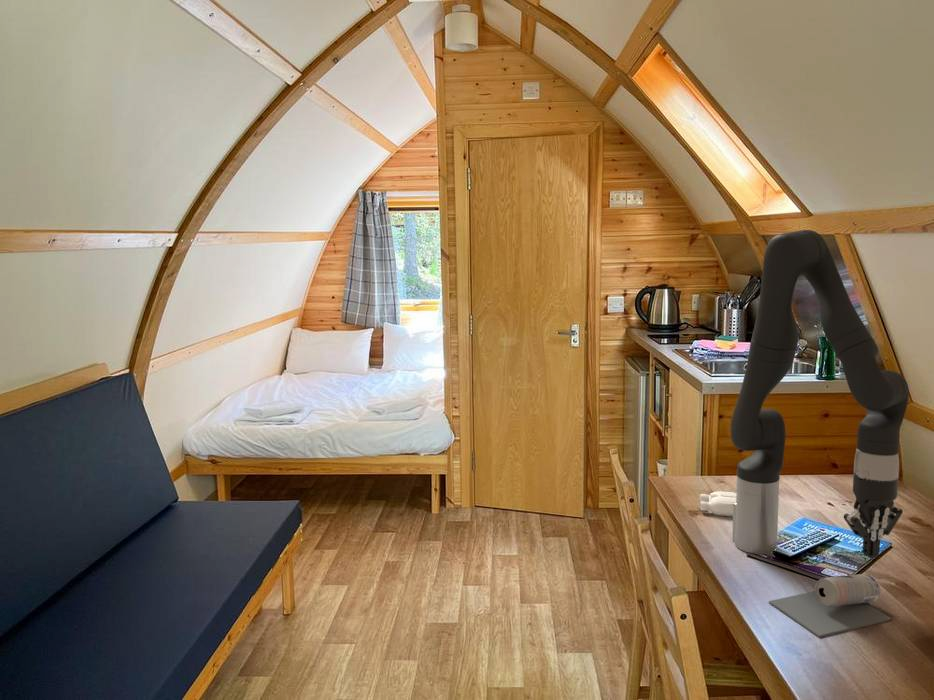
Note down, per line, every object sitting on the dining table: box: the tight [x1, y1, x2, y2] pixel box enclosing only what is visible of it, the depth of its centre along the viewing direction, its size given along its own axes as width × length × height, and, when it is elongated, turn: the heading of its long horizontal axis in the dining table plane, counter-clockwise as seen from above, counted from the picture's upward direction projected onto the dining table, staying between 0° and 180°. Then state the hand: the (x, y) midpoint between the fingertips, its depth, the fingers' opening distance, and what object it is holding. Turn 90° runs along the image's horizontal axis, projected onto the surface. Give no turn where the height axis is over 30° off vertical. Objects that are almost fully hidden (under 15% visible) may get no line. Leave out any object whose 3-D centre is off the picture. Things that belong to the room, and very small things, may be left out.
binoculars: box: [699, 491, 736, 518], centre depth 184 cm, size 10×16×5 cm, turn 72°
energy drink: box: [814, 573, 881, 607], centre depth 135 cm, size 5×5×12 cm
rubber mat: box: [768, 590, 892, 638], centre depth 135 cm, size 13×17×1 cm
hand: (870, 555), depth 137 cm, fingers closed
